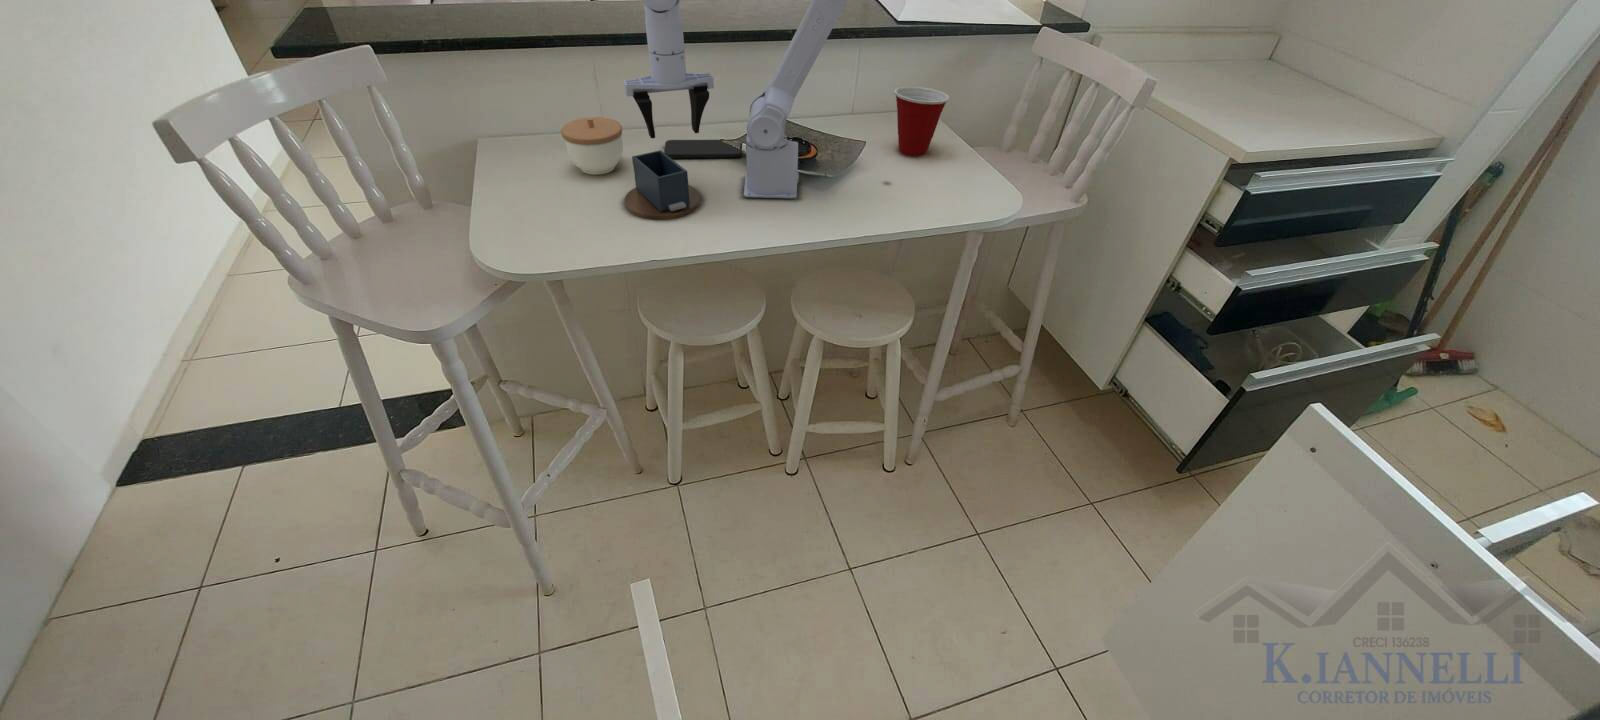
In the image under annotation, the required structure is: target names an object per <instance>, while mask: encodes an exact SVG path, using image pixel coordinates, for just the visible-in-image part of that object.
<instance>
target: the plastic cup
mask: <svg viewBox="0 0 1600 720" xmlns="http://www.w3.org/2000/svg"><path fill="white" fill-rule="evenodd" d="M894 95H895V99H896V100H895V101H896V113H897V117H896V118H897V120H896V121H897V136H898V138H897V140H898V141H897V143H898V151H899V153H901V154H902V155H904V156H906V157H913V158H919V157H923V156H926V154H927V153H928V151H929V149H930V145H931V143H932V139H933V138H934V135H935V132H936V129H937V125H938V123H939V120H940V117H941V115H942V113H943V110H944V108H945V106H946V104H947V102H949V100H950V96H949V95H948V94H947V93H945V92H943V91H941V90H937V89H934V88H929V87H923V86H900V87H897V88H895V89H894Z"/></svg>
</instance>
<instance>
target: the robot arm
mask: <svg viewBox="0 0 1600 720" xmlns="http://www.w3.org/2000/svg"><path fill="white" fill-rule="evenodd" d="M641 1H642V3H643V5H644V7H643V8H644V16H645V18H644V24H645V31H646V40H647V42H646V43H647V51H648V52H647V53H648V60H649V69H650V75H647V76H643V77H639V78H634V79H628V80H627V79H626V80H623V86H624V87H623V88H624V93H625V95H626V97H632V98H633V100H634V101H635V103H636V105H637V106H638V108H639V111H640V113H641V115H642V118H643V119H644V122H645V125H646V129H647V133H648V136H649V137H650V139H656V131H655V126H654V125H655V124H654V119H653V102H652V100H651V97H650V95H649V94H653V93H664V92H674V91H675V92H676V91H684V90H685V91H686V90H687V91H688V96H689V102H690V103H689V104H690V118H691V119H690V120H691V121H690V123H691V130H692V131H693V133H694V134H699V133H700V127H701V122H702V121H701V120H702V117H703V113H704V110H705V108H706V106H707V103H708V101H709V100H710V91H709V90H711V89H714V87H715V85H714V75H712V74H711V72H707V73H706V72H705V73H695V72H694V73H693V72H691V73H689V72H687V67H686V66H687V65H686V52H685V40H684V26H683V25H684V24H683V18H682V14H681V0H641ZM848 1H849V0H811V1H810V3H809V5H808V7H807V9H806V11H805V14H804V15H803V17H802V19H801V21H800V23H799V25H798V27H797V29H796V31H795V32H794V35H793V37H792V38H791V41H790V43H789V44H788V47H787V48H786V50H785V52H784V54H783V57H782V59H781V60H780V62H779V64H778V66H777V68H776V70H775V72H774V74H773V76H772V78H771V80H770V81H769V82H768V83H767V85H766V86H765V88H764V90H763V91H762V93H761V94H759V95H758V96H756V97H755V98H754V99H753V100H752V101H751V104H750V107H749V117H748V118H749V120H748V122H747V124H746V134H747V135H746V137H745V159H746V160H745V161H746V162H745V164H746V167H745V169H746V176H745V177H744V189H743V197H744V198H758V199H759V198H760V199H796V198H798V184H799V183H800V173H799V171H798V170H799V169H798V168H799V142H798V141H793V140H790V139H788V136H787V135H786V134H785V132H786V131H785V126H786V122H787V120H788V117H790V114H791V111H792V108H793V105H794V102H795V99H796V97H797V95H798V94H799V92H800V90H801V88H802V86H803V84H804V82H805V81H806V79H807V78H808V76H809V73H810V72H811V69H812V68H813V66H814V64H815V62H816V60H817V58H818V56H819V55H820V53H821V51H822V49H823V47H824V45H825V43H826V42H827V40H828V38H829V36H830V34H831V32H832V30H833V28H834V27H835V25H836V23H837V21H838V19H839V17H840V16H841V14H842V12H843V10H844V8H845V6H846V4H847V2H848Z"/></svg>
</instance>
